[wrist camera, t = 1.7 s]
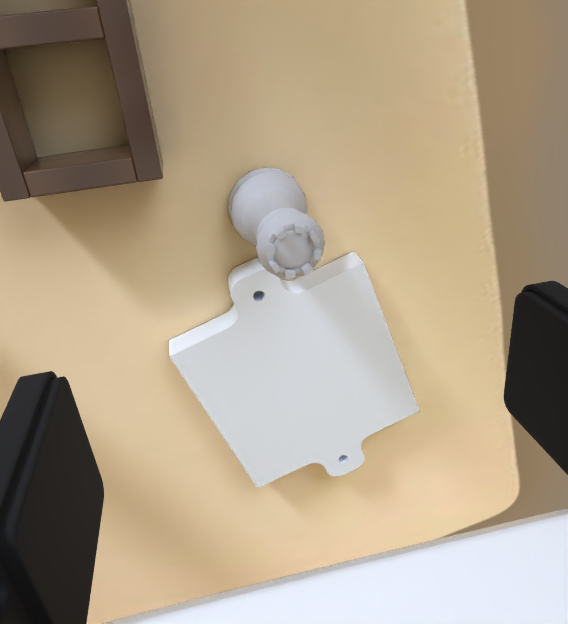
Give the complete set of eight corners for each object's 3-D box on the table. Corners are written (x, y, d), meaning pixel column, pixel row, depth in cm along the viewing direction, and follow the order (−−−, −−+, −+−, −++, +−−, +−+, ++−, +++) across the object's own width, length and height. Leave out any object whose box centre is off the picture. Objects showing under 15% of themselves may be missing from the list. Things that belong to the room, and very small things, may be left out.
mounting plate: (417, 418, 41) (428, 434, 39) (267, 489, 41) (271, 509, 40) (340, 216, 32) (349, 226, 31) (148, 309, 33) (147, 324, 31)
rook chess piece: (213, 186, 30) (229, 233, 23) (284, 151, 30) (322, 187, 23) (247, 252, 32) (270, 313, 25) (313, 220, 32) (355, 271, 25)
